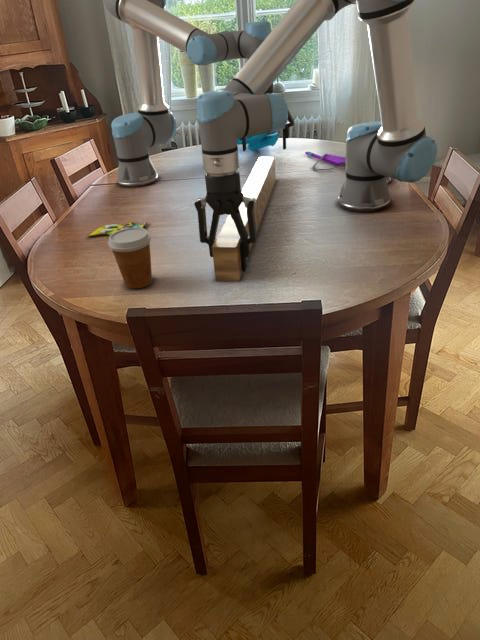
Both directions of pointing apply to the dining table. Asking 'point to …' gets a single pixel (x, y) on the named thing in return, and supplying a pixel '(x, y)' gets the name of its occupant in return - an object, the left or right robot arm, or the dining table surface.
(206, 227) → the right robot arm
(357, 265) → the dining table surface
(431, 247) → the dining table surface
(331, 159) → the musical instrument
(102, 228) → the toy
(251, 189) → the post
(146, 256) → the disposable coffee cup
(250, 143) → the toy
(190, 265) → the dining table surface
